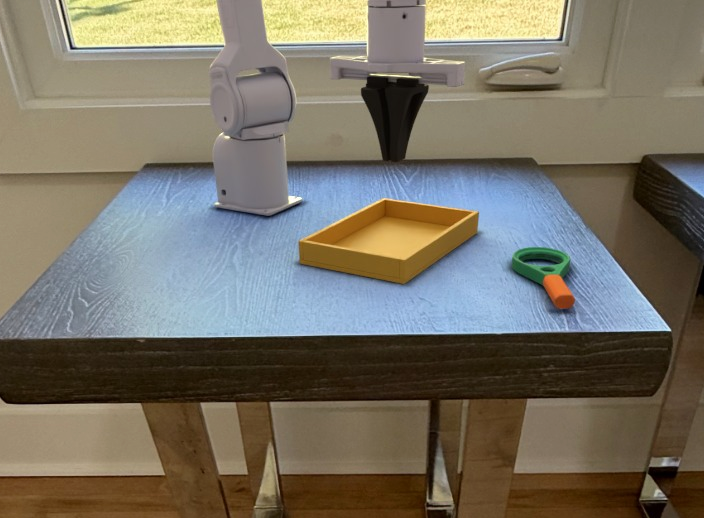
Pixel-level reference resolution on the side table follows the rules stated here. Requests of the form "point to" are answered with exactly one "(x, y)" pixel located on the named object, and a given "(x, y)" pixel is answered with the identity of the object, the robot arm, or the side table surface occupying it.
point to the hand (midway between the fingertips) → (393, 159)
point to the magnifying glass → (546, 272)
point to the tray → (389, 239)
